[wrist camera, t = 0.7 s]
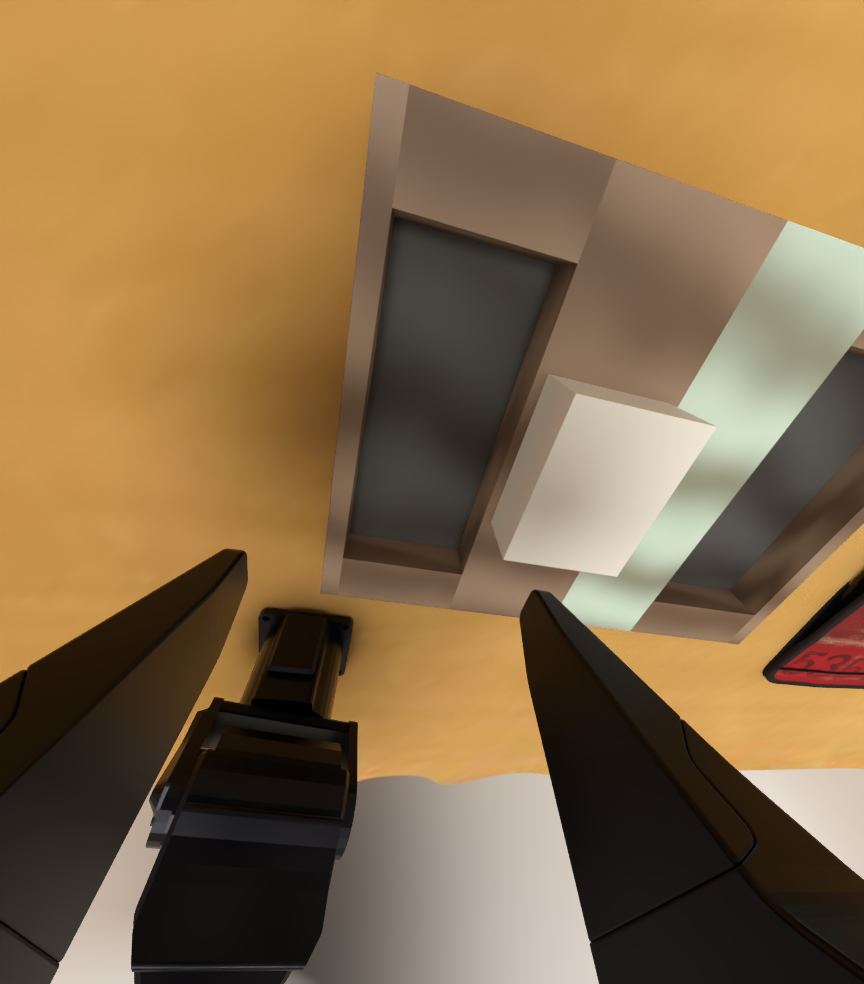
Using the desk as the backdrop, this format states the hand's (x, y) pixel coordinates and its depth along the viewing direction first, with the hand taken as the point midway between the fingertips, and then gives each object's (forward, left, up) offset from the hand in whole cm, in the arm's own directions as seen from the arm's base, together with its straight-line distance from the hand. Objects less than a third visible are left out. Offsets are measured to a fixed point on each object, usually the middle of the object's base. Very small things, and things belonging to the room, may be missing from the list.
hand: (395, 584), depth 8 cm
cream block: (0, -9, -9) cm, 13 cm away
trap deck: (0, -12, -12) cm, 17 cm away
